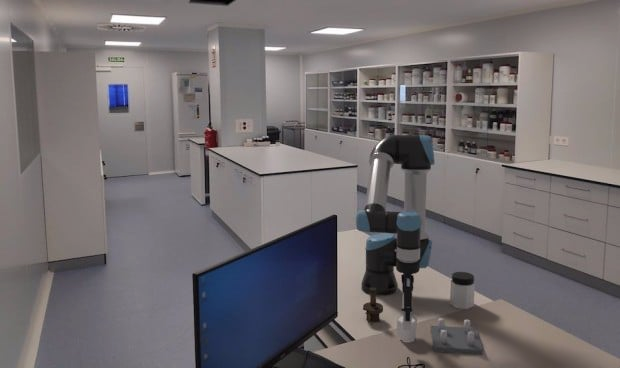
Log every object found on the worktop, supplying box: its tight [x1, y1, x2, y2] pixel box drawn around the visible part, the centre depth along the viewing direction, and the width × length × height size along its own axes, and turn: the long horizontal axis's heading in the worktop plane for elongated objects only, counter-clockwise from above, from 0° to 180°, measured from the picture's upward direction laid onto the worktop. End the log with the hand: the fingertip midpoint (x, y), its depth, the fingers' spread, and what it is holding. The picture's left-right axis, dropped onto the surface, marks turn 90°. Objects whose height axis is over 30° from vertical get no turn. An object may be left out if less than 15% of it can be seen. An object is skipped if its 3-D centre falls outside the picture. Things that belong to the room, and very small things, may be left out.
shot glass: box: [396, 314, 418, 341], centre depth 169 cm, size 7×7×7 cm
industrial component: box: [362, 288, 384, 323], centre depth 183 cm, size 9×7×12 cm
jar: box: [449, 271, 476, 310], centre depth 194 cm, size 9×8×12 cm
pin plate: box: [430, 317, 484, 355], centre depth 166 cm, size 15×15×6 cm
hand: (406, 320), depth 168 cm, fingers open, 13 cm apart
